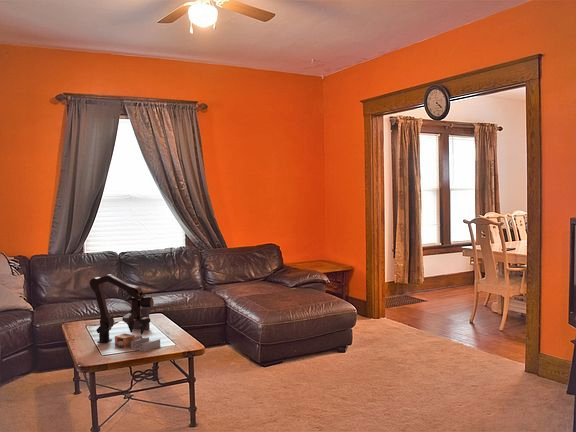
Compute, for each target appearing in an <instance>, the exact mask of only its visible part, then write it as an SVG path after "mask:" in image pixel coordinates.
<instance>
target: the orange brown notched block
mask: <svg viewBox="0 0 576 432" xmlns="http://www.w3.org/2000/svg"><path fill="white" fill-rule="evenodd" d="M135 336H136V335H135V334H131V333H130V334H129V333H121V334H116V335H115V336H114V347H117V342H118V341H122V340H123V347H122V349H128V348H131V341H135Z"/></svg>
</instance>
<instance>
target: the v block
mask: <svg viewBox="0 0 576 432" xmlns="http://www.w3.org/2000/svg"><path fill="white" fill-rule="evenodd" d="M157 348H161V339H160V338H156V339H153V340H151V339H150V337H149V336H146V337H143V338H141V339H138V340H135V341H131V347H130V349H131V350H136V351H141V352H147V351H150V350H153V349H157Z"/></svg>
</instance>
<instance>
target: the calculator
mask: <svg viewBox="0 0 576 432" xmlns="http://www.w3.org/2000/svg"><path fill="white" fill-rule="evenodd" d="M141 309H142V311H141V316H143V317H142V318H144V317H148V318H150V308H142V307H141ZM137 320H138V319H137ZM150 329H151V328H150V323H149V324H147V326H146V328H145V330H144V332H145V331H147V332H148V331H149V330H150ZM133 331H140V326H139V321H134V326H133Z"/></svg>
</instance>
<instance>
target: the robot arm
mask: <svg viewBox="0 0 576 432" xmlns="http://www.w3.org/2000/svg"><path fill="white" fill-rule="evenodd" d="M107 282H108V283H109V284H111V285H113V286H116V287H117V288H119V289H121V290H122V291H125V293H126V294H127V295H129V298H127V300H126V301H129V302H130V309H129V310H128V313H126V314H125V315H123V316H122V317H121V318H122V320H121V321H122V322H123V323H125V324H126V325H127V326H128V329H129V331H130V334H132V333H133V331H134V330H133V326H134V321H139V326H140V330H139V331H140V335H141V336H143V335H144V332H145V331H144V330H145V328H146V326H147V324H149V325H150V324H151V318H150V317H149V318H148V317H144V318H142V317H143V316H141V311H142V309H141V307H142V308H149V309H150V308H151V309H152V308H154V305H155V302H154V298H153V296H150V295H149V296H146V294H145V293H144V292H143V290H142V288H141V286H139V285H136V284H130V283H128V282H126V281H124V280H122V279H121V278H118V277H116V276H115V275H113V274H111V273H110V274H106V275H104V276H102V277H100V276H95V277H93V278H91V279H90V280H89V283H88V284H89V287H90V288H91V291H93V292H94V295H95V299H96V302H97V306H98V307H97V308H98V310H99V316H100V318H99V326H98V327H97V328H96V333H97V334H99V335H98V337H99V339H98V341H96V343H97V344H99V343H100V344H108V343H109V342H111V341H112V339H110V331H111V330H112V328H113V326H114V325H115V319H114V315H111V314H110V313H109V310H108V306H107V301H106V298H105V294H104V287H105V283H107ZM137 319H138V320H137Z"/></svg>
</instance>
